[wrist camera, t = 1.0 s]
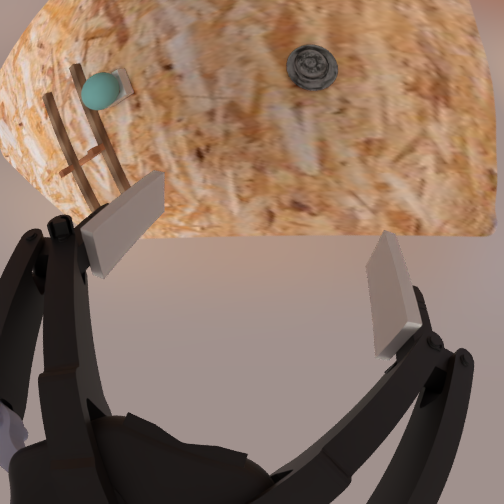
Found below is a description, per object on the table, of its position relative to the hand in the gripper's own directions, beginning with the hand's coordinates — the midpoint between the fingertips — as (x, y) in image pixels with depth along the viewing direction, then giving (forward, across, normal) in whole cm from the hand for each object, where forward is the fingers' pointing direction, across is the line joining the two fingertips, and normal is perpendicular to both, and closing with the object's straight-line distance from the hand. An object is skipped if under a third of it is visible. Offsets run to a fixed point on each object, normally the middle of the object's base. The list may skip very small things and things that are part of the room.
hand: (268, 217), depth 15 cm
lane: (+23, -36, -7) cm, 44 cm away
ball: (+19, -29, +4) cm, 35 cm away
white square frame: (+23, -29, +4) cm, 37 cm away
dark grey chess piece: (+24, 0, +9) cm, 25 cm away
